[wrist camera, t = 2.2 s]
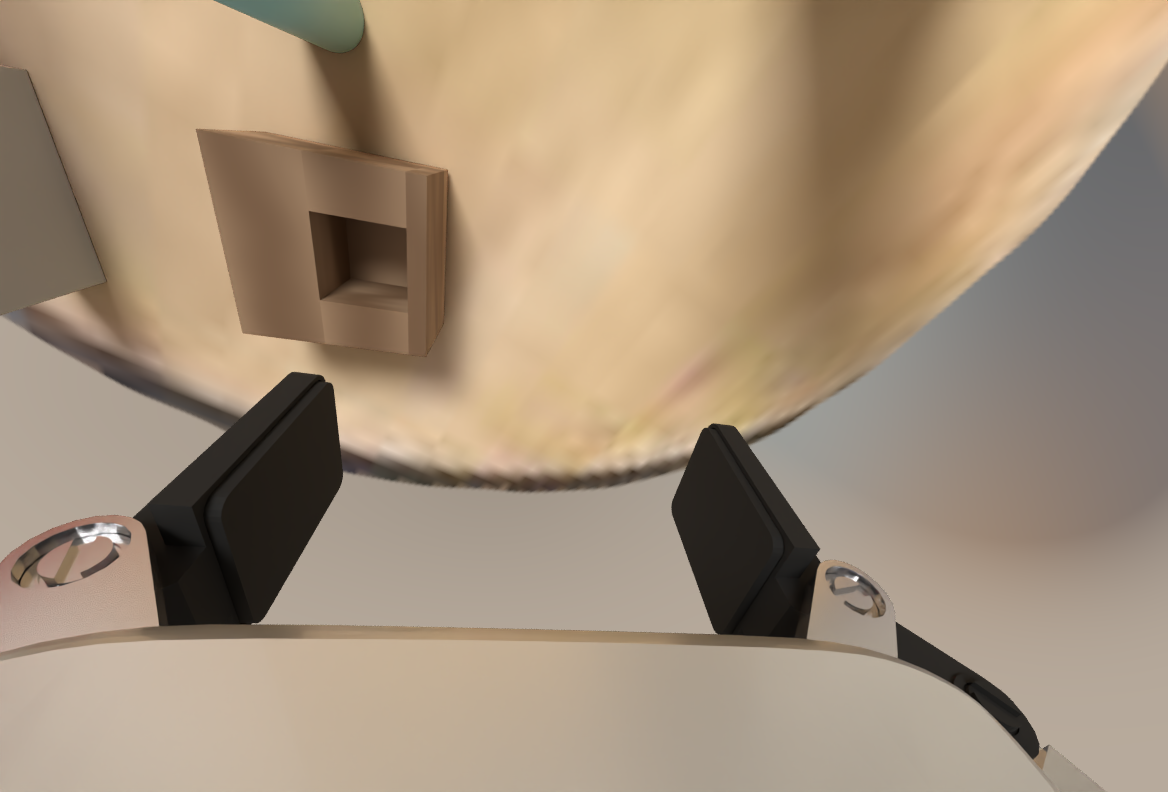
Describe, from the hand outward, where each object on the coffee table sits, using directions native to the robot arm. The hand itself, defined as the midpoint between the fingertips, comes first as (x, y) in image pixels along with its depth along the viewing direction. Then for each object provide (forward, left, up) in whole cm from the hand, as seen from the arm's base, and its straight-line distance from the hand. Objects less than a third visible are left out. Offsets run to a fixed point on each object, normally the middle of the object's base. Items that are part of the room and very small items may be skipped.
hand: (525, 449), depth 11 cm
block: (+10, 0, -18) cm, 21 cm away
